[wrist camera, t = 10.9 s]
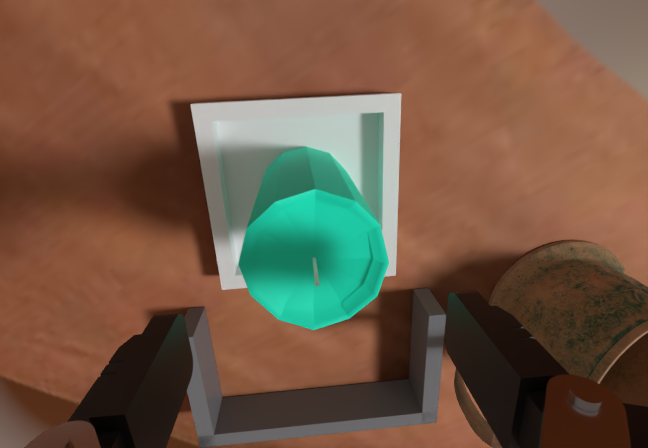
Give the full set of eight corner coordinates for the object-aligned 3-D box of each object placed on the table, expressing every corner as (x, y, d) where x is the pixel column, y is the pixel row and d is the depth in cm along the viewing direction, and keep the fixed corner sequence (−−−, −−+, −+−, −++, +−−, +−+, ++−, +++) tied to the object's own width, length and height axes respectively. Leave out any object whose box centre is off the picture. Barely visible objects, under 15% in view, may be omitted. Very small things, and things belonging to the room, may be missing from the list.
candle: (348, 233, 25) (392, 349, 14) (262, 234, 25) (236, 355, 14) (352, 146, 23) (408, 203, 12) (258, 145, 23) (224, 204, 12)
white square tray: (392, 92, 23) (401, 93, 21) (388, 262, 27) (395, 275, 25) (198, 102, 22) (190, 104, 20) (226, 275, 26) (222, 289, 25)
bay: (428, 288, 28) (446, 314, 25) (421, 388, 32) (436, 422, 29) (188, 308, 27) (174, 338, 24) (210, 409, 31) (200, 447, 28)
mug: (419, 247, 27) (509, 362, 16) (640, 236, 28) (869, 335, 17) (409, 369, 31) (474, 528, 20) (602, 354, 32) (765, 497, 21)
